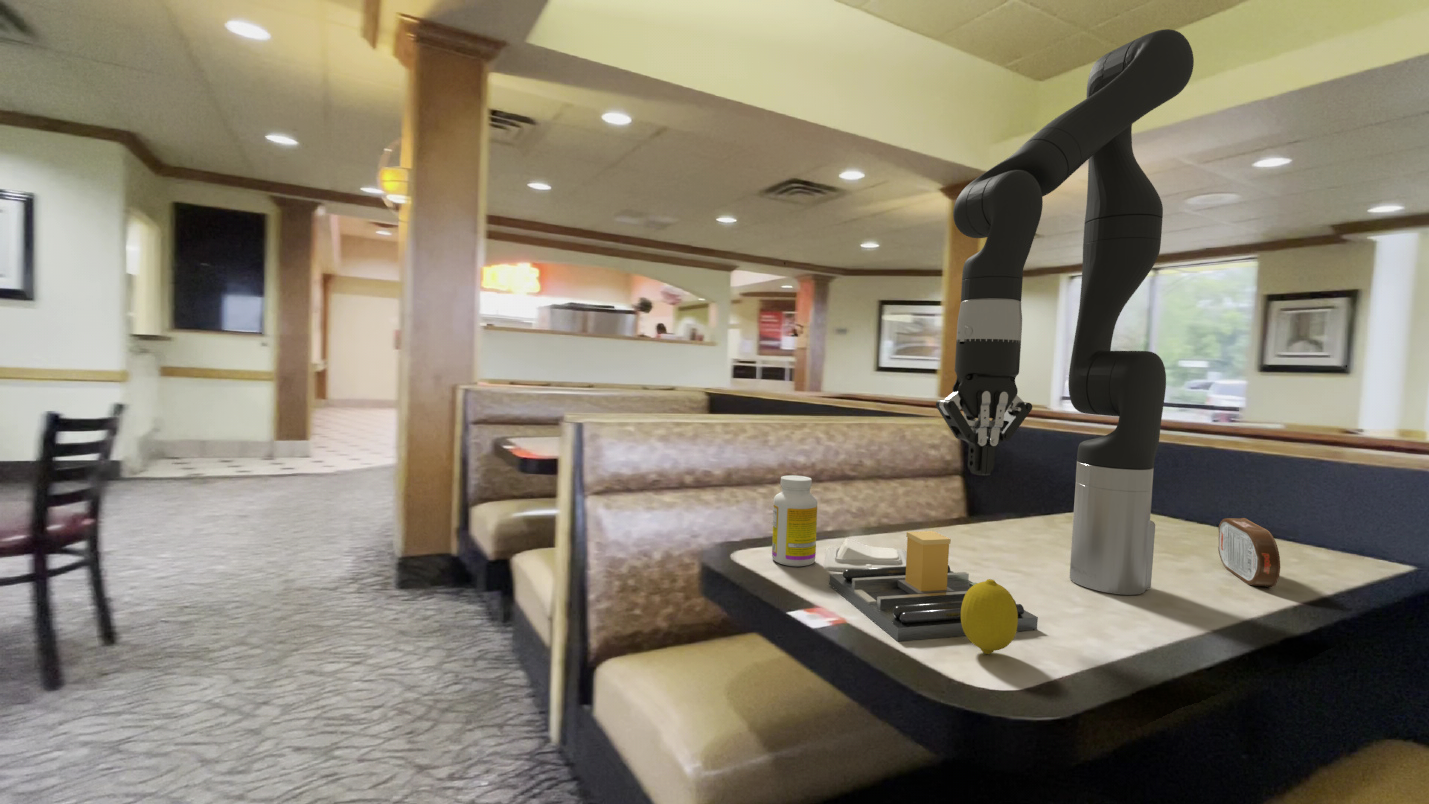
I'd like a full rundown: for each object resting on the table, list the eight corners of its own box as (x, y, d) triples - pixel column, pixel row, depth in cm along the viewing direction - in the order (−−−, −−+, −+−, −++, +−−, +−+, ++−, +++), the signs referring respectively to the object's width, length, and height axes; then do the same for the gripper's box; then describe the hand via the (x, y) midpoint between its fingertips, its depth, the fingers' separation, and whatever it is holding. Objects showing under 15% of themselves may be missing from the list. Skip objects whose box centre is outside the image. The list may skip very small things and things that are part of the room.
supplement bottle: (824, 562, 97) (827, 479, 97) (796, 570, 93) (799, 483, 92) (790, 552, 102) (793, 472, 101) (762, 559, 98) (765, 476, 97)
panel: (945, 578, 91) (946, 558, 91) (1036, 629, 74) (1038, 605, 74) (829, 585, 87) (830, 564, 87) (897, 641, 70) (898, 615, 69)
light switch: (825, 532, 104) (906, 534, 102) (825, 557, 104) (906, 559, 102) (823, 551, 94) (913, 553, 91) (823, 578, 94) (914, 582, 91)
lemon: (1026, 666, 65) (1031, 588, 64) (974, 666, 64) (978, 588, 64) (998, 642, 70) (1002, 571, 70) (949, 642, 70) (953, 570, 69)
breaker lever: (932, 584, 83) (934, 529, 83) (954, 597, 79) (957, 539, 78) (897, 586, 82) (900, 531, 82) (918, 599, 78) (921, 541, 77)
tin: (1280, 595, 89) (1285, 536, 88) (1252, 592, 90) (1257, 533, 89) (1235, 565, 103) (1239, 513, 102) (1212, 562, 104) (1216, 511, 103)
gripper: (1012, 341, 86) (1004, 469, 86) (925, 336, 82) (917, 469, 83) (1055, 339, 78) (1045, 479, 79) (960, 334, 75) (952, 480, 76)
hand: (980, 474), depth 81 cm, fingers closed
